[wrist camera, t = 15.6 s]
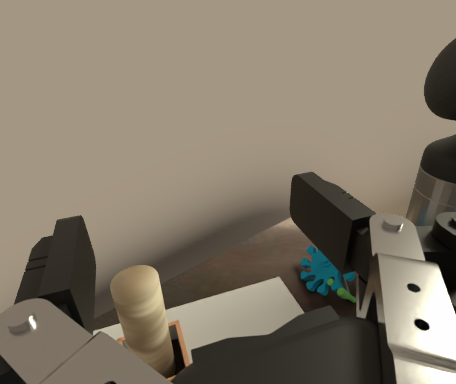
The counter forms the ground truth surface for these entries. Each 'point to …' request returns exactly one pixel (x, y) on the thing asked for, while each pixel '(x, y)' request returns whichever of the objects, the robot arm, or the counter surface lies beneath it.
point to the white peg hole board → (226, 316)
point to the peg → (144, 317)
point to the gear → (326, 276)
